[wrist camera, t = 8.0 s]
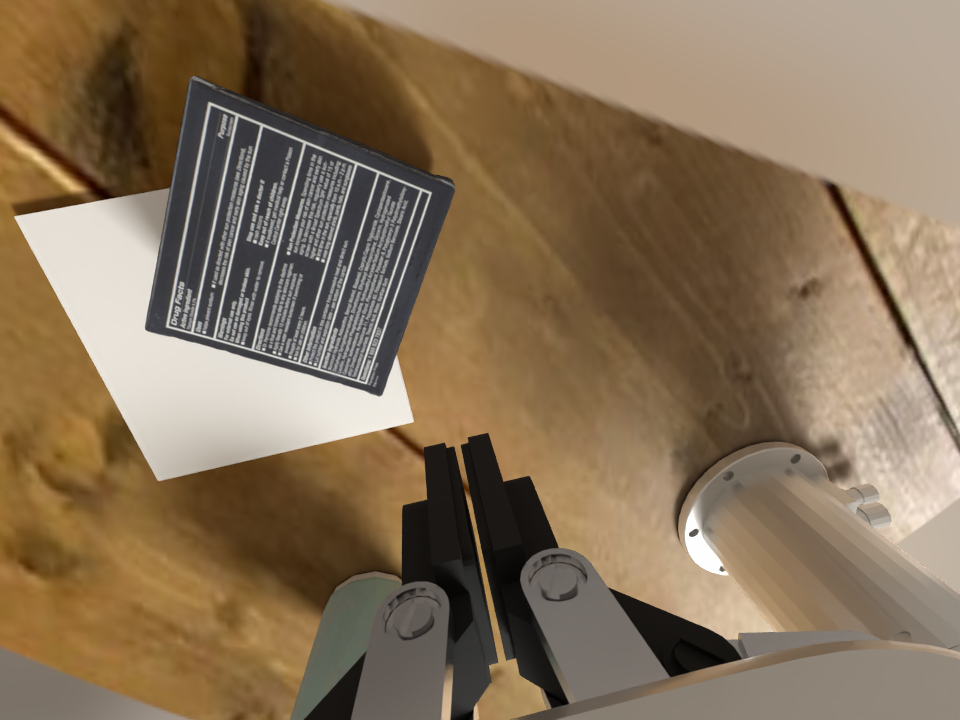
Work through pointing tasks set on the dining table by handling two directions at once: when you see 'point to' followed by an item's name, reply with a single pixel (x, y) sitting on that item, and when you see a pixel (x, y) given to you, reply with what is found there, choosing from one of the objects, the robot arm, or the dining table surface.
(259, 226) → the small box
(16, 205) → the dining table surface
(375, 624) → the robot arm
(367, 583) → the disposable coffee cup
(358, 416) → the white mat
